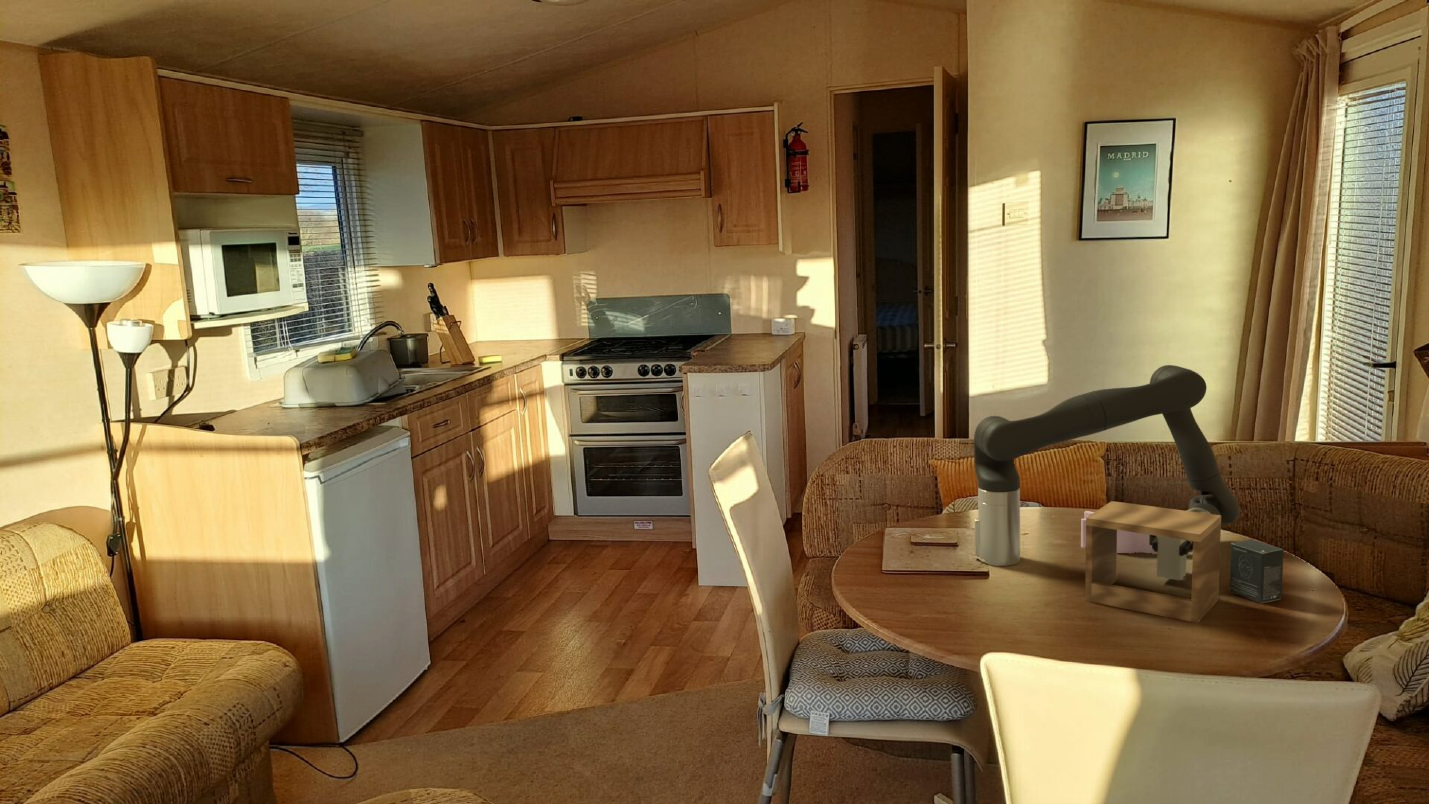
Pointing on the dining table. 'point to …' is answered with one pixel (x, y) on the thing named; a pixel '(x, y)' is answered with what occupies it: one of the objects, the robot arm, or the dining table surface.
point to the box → (1256, 571)
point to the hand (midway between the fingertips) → (1168, 549)
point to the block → (1170, 558)
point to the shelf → (1157, 523)
